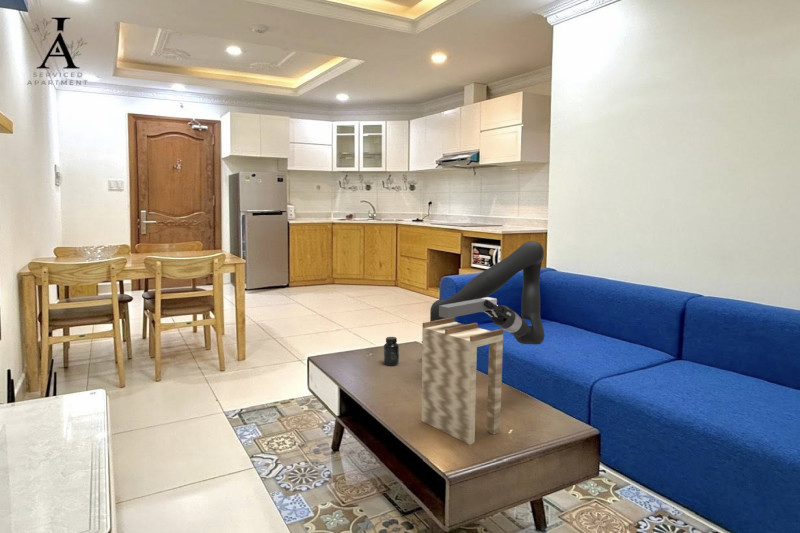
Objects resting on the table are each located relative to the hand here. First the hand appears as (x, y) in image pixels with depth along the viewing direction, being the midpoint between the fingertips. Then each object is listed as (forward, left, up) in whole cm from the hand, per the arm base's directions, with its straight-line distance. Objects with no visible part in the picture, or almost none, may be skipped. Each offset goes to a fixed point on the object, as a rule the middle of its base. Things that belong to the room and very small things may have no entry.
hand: (480, 301), depth 178 cm
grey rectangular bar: (0, -6, -3) cm, 6 cm away
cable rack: (+5, -14, -39) cm, 42 cm away
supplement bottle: (-60, +9, -39) cm, 72 cm away
